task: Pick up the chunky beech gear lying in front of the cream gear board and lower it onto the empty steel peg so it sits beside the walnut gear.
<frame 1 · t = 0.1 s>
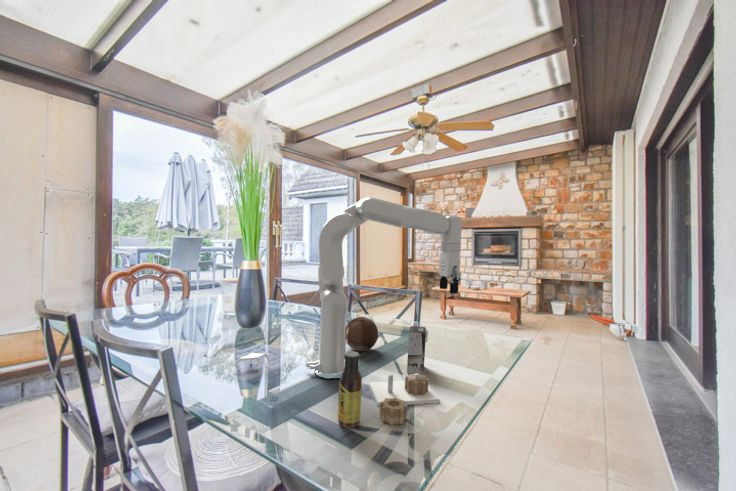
hand: (448, 290, 135), 31 cm above the table, tool pointing down, fingers open, 9 cm apart
gear board: (402, 393, 114), on the table
origami figure: (250, 368, 129), on the table
sauce bottle: (348, 423, 95), on the table
wooden sphere: (360, 350, 154), on the table
coffee box: (415, 370, 134), on the table
beech gear: (393, 418, 99), on the table
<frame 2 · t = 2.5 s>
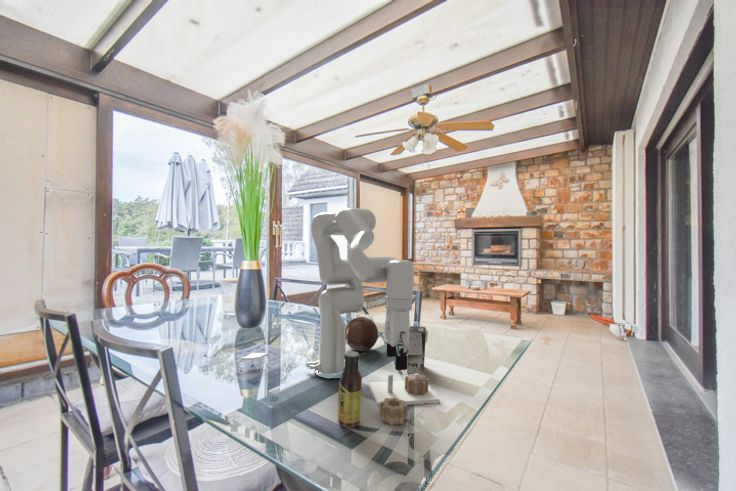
hand: (396, 362, 98), 16 cm above the table, tool pointing down, fingers open, 9 cm apart
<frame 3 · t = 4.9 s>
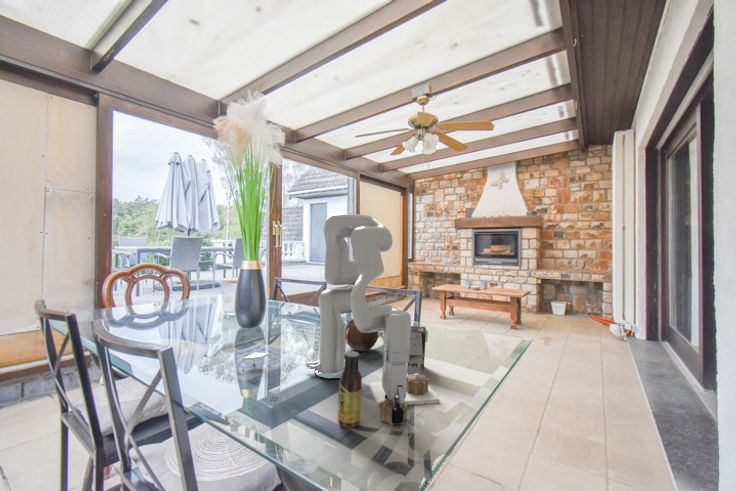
hand: (393, 414, 99), 1 cm above the table, tool pointing down, fingers closed on beech gear, 7 cm apart
beech gear: (393, 418, 99), on the table, touching gripper
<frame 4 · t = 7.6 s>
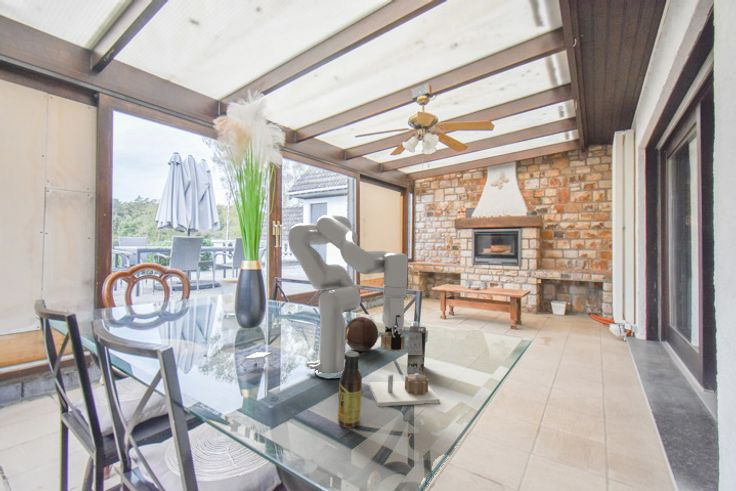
hand: (392, 344, 112), 17 cm above the table, tool pointing down, fingers closed on beech gear, 7 cm apart
beech gear: (392, 347, 112), point 16 cm above the table, touching gripper
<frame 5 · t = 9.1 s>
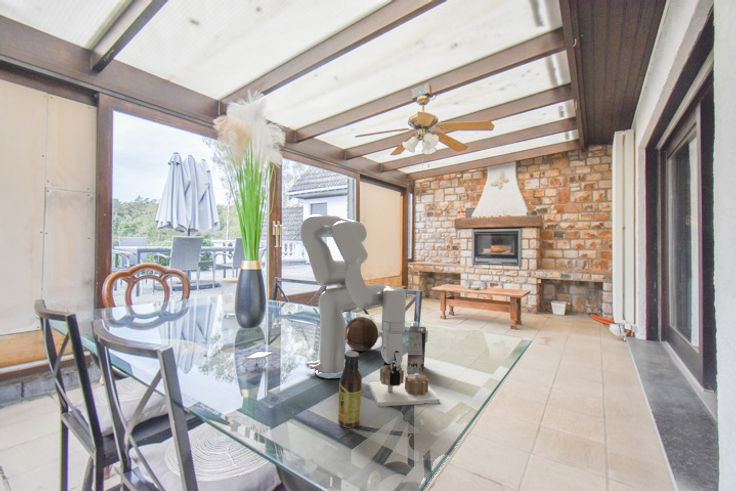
hand: (391, 378, 112), 6 cm above the table, tool pointing down, fingers closed on beech gear, 7 cm apart
beech gear: (391, 382, 112), point 5 cm above the table, touching gripper
when the fingers open (4 cm above the table, at t = 10.4 s): beech gear drops 1 cm, resting on gear board.
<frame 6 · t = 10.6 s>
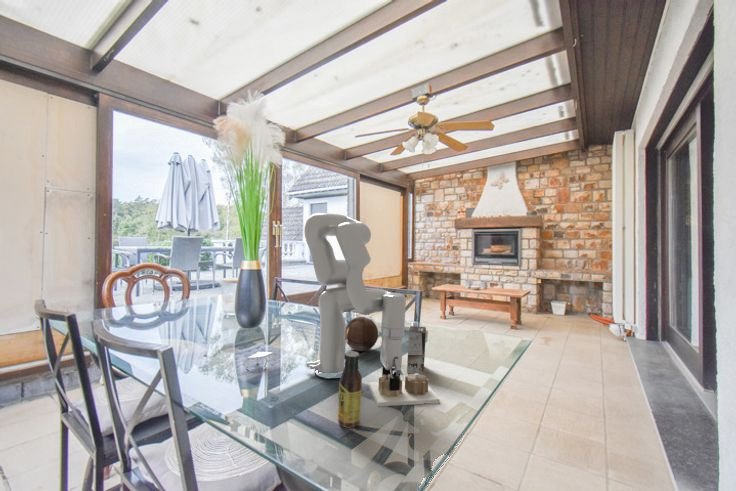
hand: (390, 383, 112), 4 cm above the table, tool pointing down, fingers open, 9 cm apart
beech gear: (390, 391, 112), point 1 cm above the table, touching gear board
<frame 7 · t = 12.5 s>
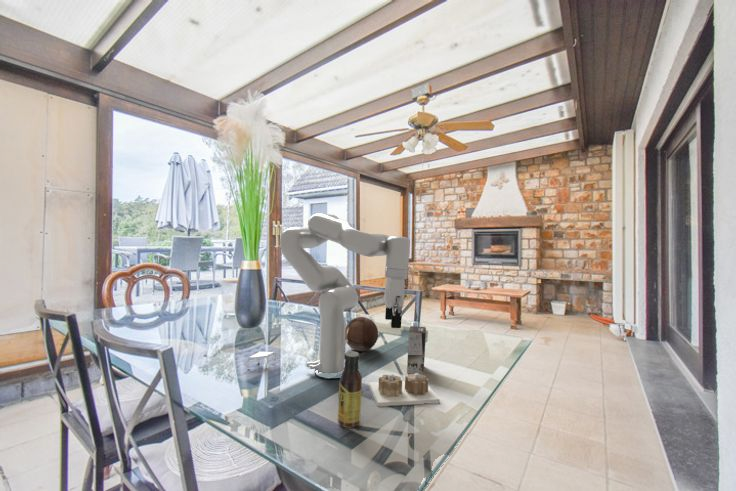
hand: (392, 323, 116), 23 cm above the table, tool pointing down, fingers open, 9 cm apart
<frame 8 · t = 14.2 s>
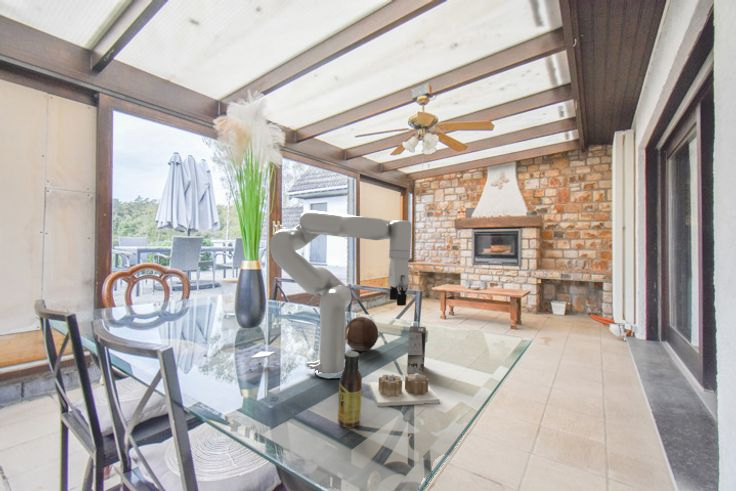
hand: (397, 302, 123), 28 cm above the table, tool pointing down, fingers open, 9 cm apart
at the end: beech gear 0.1 cm from the target spot on the gear board, point 1.2 cm above the gear board's base; beech gear tilted 0°; the gripper is holding nothing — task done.
